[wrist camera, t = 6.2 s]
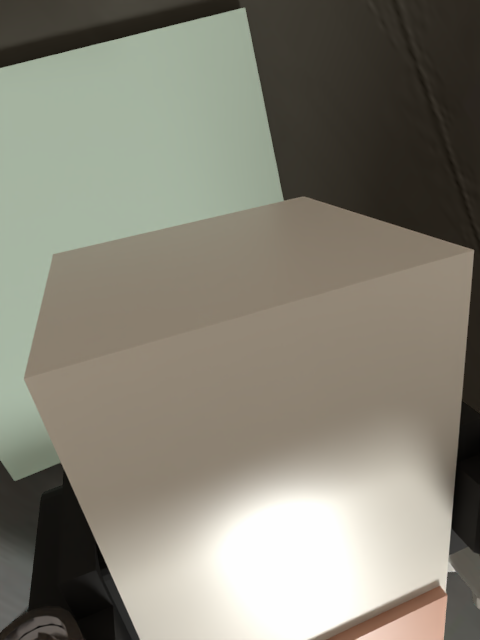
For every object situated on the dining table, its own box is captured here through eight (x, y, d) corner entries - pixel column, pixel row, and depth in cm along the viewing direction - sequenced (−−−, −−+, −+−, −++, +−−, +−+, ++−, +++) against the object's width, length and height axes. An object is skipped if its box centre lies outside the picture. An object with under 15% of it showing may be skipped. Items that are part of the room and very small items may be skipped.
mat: (311, 354, 30) (315, 358, 30) (16, 474, 27) (14, 481, 26) (241, 10, 21) (245, 7, 21) (-220, 124, 18) (-229, 124, 17)
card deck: (303, 196, 10) (486, 253, 5) (329, 483, 14) (447, 655, 9) (53, 254, 9) (21, 389, 4) (158, 550, 13) (200, 783, 8)
